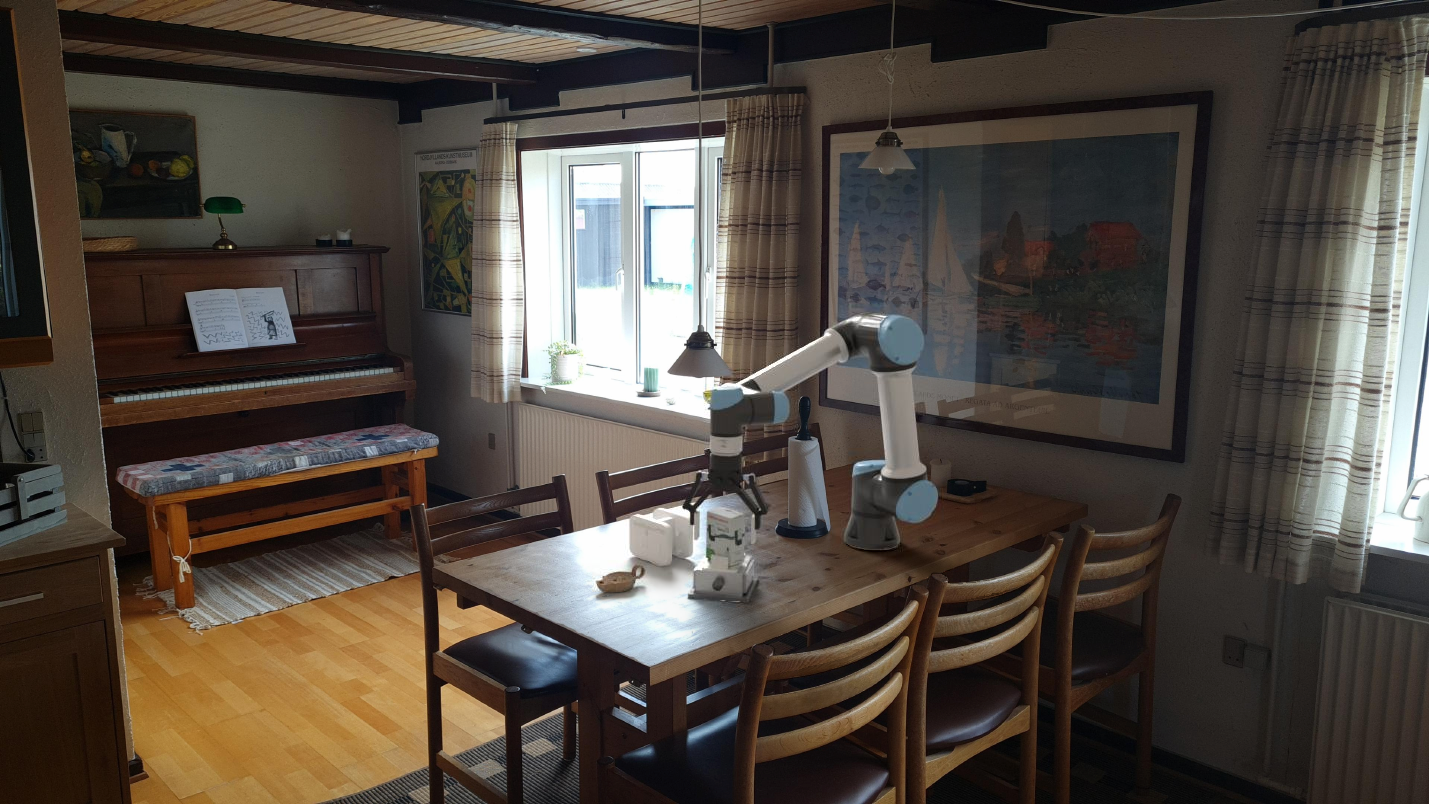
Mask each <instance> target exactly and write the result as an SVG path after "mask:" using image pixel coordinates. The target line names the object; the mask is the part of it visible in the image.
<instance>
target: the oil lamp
mask: <svg viewBox="0 0 1429 804" xmlns="http://www.w3.org/2000/svg"><path fill="white" fill-rule="evenodd" d="M639 568H640V573H639V574H638V575H637V570H638V569H639ZM645 574H646V568H645V567H644V565H642V564H639V563H638V564H635V565H634V566H633V567H632V569H631V571H625V570H624V571H613V572H610V573H609V572H608V574H606V575H602V577H601V578H602V579H600V580H596V581H595V583H596V587H597V588H598V589H599V591H601V592H603V593H621V592H623V591H624V592H627V591H629V590H631V589H632V588H633V587H634V586H635V584H636V580H640V579H642V578H643V577H644V576H645Z"/></svg>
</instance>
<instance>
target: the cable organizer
mask: <svg viewBox="0 0 1429 804" xmlns="http://www.w3.org/2000/svg"><path fill="white" fill-rule="evenodd" d="M628 526H629V532H628V533H629V538H628V539H629V542H628V543H629V552H630V553H631V554H632V555H633V556H635V557H636V558H637V559H639V558H640V559H639V560H642V561H648V562H650V563H652V564H653V565H655V566H659V567H665V566H669V565H671V564H672V562H673V555H674V556H675V557H677V558H678V559H679V558H680V559H681V560H685V559H687V558H691V557H692V556H693V554H694V525H691V524H690V515H687V514H684V513H683V514H682V513H680V512H677V511H674V510H670V509H667V508H663V507H659V508H656V509H654V510H653V512H652V517H648V516H645V515H642V514H638V513H637V514H634V515H631V516H630V518H629V525H628Z"/></svg>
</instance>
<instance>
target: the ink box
mask: <svg viewBox="0 0 1429 804" xmlns="http://www.w3.org/2000/svg"><path fill="white" fill-rule="evenodd" d="M745 533H746V514H744V513H743V512H740V511H736V510H734V509H731V508H726V507H724V506H718V507H716V508H713V509H709V510H707V511H706V539H705V541H706V543H705V544H706V546H705V547H706V548H705V555H706V558H708V559H711V555H723V556H729V566H733V565H736V564H739V563H742V562H744V553H745V544H746V542H745V539H746V538H745V535H746V534H745Z"/></svg>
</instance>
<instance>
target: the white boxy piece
mask: <svg viewBox="0 0 1429 804" xmlns="http://www.w3.org/2000/svg"><path fill="white" fill-rule="evenodd" d="M692 573H693V574H692V577H693V578H692V579H693V580H692V581H693V582H692V585H693V586H692V587H691V588H690V590H689V592H688V593H687V599H693V600H703V599H707V600H706V601H715V600H725V601H724V602H727V601H740V602H748V603H749V601H750V599H749V598H751V597H752V594H753V592H754V590H755V588H754V587H756V586H755V585H757V584H758V581H759V575H755V559H752V555H746V552H744V562H742V563H739V564H736V565H733V566H729V556H723V555H711V559H708V558H706V554H705V555H702V557H701V558H700V559H699V561H698V563H697V565H696V566H695V568H694V569H693V571H692ZM757 580H758V581H757ZM753 589H754V590H753ZM752 591H753V592H752ZM751 593H752V594H751ZM750 596H751V597H750ZM748 600H749V601H748Z"/></svg>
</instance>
